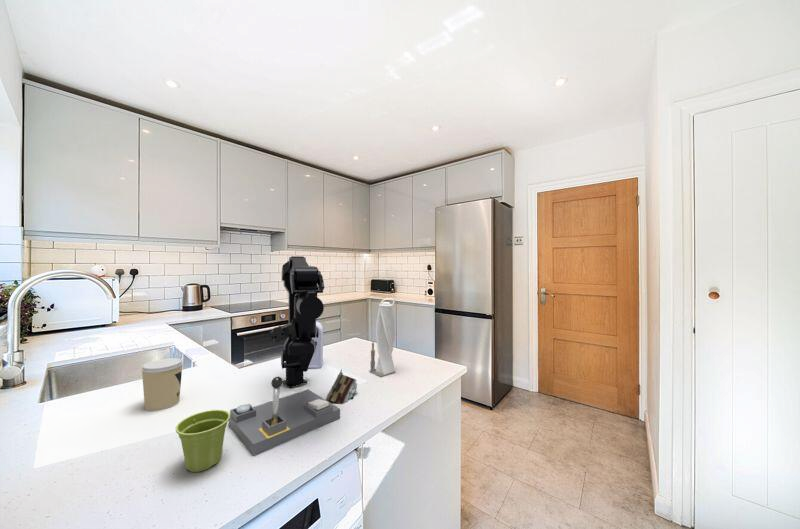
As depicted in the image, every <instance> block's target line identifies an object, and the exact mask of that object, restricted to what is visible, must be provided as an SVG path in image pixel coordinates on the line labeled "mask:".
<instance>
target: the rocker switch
mask: <svg viewBox="0 0 800 529" xmlns="http://www.w3.org/2000/svg"><path fill="white" fill-rule="evenodd" d="M308 406H310V407H311V408H313V409H316V410H319V409H322V408H324V407H327V406H329V402H327V401H324V400H320V399H317V400H314V401H312V402H309V403H308Z"/></svg>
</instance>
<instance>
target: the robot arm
mask: <svg viewBox="0 0 800 529" xmlns="http://www.w3.org/2000/svg"><path fill="white" fill-rule="evenodd" d="M281 281H282V282H283V287H284V288H285V290H286V292H287V294H288V323H285V324H283V325H278V326H275V327H274V328H273V329H272V330H271V331H270V332H269V333H270V339H271V340H273V343H274V344H278V343H280V342H281V341H284V340H285V342H284V343H283V349H282V350H281V356H280V365H281V369H282V370H283V369H285V379H284V380H283V384H282V385H284V386H285V387H287V388H289V389H291V388H294V387H298V386H301V385H304V384H307V383H308V380H306V379H304V372H307V371H308V367H309V364H310V362H311V359H312V357H313V354H314V353H315V349H316V345H317V342H316V341H314V339H312V338H315V337H316V338H318V337H319V329H318V328H317V327H316V321H317V319H319V318H320V317H321V316H322V314H323V312H324V308H325V307H324V306H325V305H324V303H323V301H322V300H321V298H319V297H318V294H323V293H324V290H325V283H324V282H325V281H324V277H323V274H322V273H321V271H320V270H319V268H318V267H317V266H313V265H309V263H308V262H307V259H306V256H299V255H298V256H295V255H293V256H289V257H288V261H286V262H285V263H283V264H282V267H281Z"/></svg>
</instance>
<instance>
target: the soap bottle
mask: <svg viewBox="0 0 800 529" xmlns="http://www.w3.org/2000/svg"><path fill="white" fill-rule="evenodd" d="M316 327H317V328H318V329H319V337H318V338H316V337H315V338H312V339H314V341H316V342H317V345H316V349H315V353H314V354H313V357H312V359H311V362H310V364H309V367H308V369H310V370H312V369H311V368H314V369H321V368H322V366H323V361H324V327H323V325H322V324H321V323H320V322H319V321H317V320H316ZM308 369H307V370H308Z"/></svg>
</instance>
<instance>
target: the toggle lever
mask: <svg viewBox="0 0 800 529" xmlns="http://www.w3.org/2000/svg"><path fill="white" fill-rule="evenodd" d="M283 381H284V380H283V378H282V377H281V376H276V377H273V378H272V380H271V382H270V384H271V386H272V388H273V392H272V395H273V396H272V401H273V405H272V419H271V426H272V425H275V424H278V410H279V399H280V390H281V387H282V386H283V385H284V384H283Z"/></svg>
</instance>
